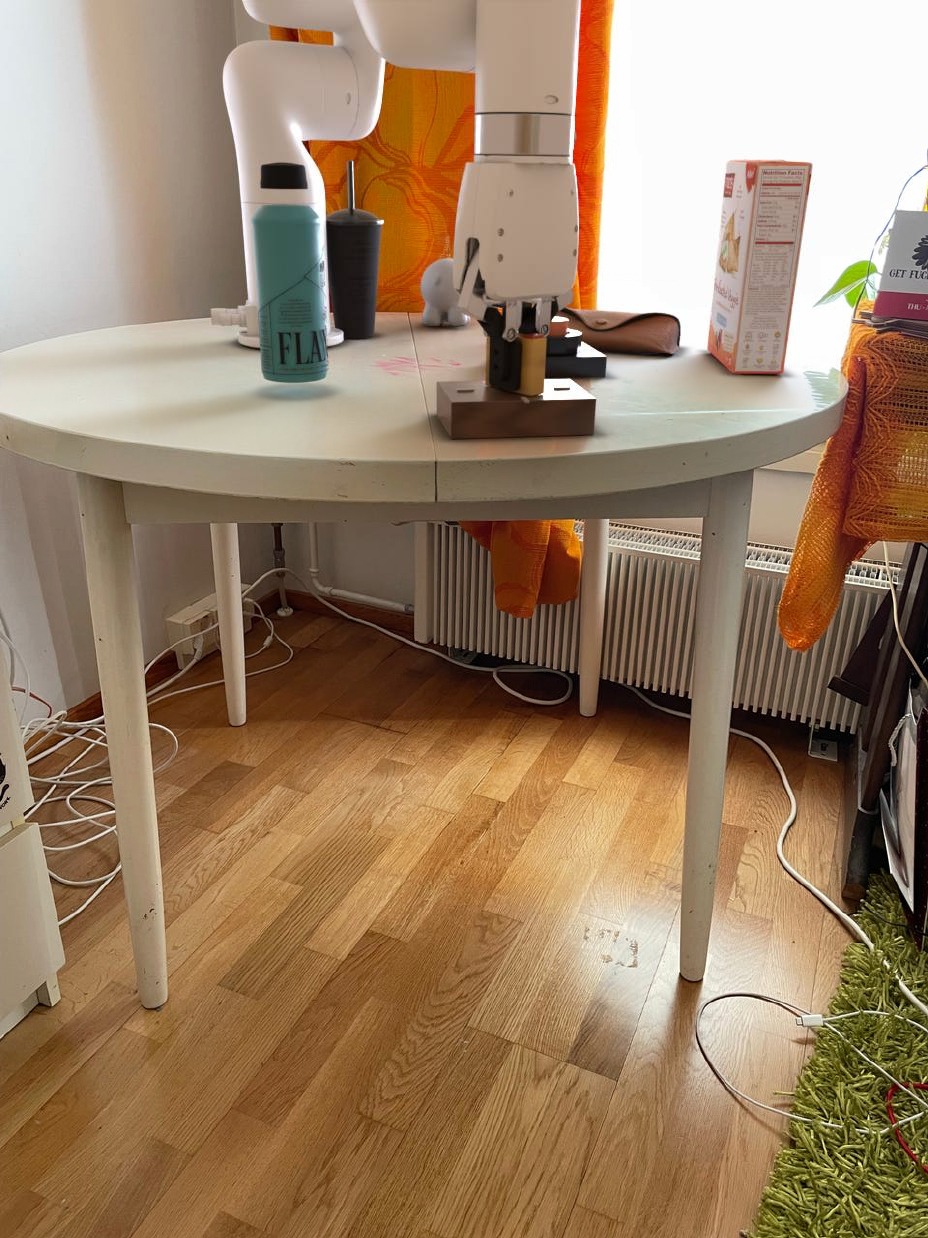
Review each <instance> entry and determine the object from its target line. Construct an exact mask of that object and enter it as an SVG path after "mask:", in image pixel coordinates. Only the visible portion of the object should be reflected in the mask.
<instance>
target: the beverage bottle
mask: <svg viewBox="0 0 928 1238" xmlns="http://www.w3.org/2000/svg"><path fill="white" fill-rule="evenodd" d="M260 187H261V189H308V183H307V179H306V170H305V166H304V165H299V164H294V163H286V162H278V163H270V164H264V165H261V181H260ZM251 224H252V230H253V244H254V257H255V271H256V284H257V297H258V324H259V338H260V348H259V350H260V352H259V353H260V366H261V373H262V377H263V379H264V380H266V381H269V382H275V383H282V384H283V383H285V384H301V383H310V382H318V381H321V380H323V379H326V377H327V375H328V370H329V369H330V366H329V364H330V363H329V360H328V359H329V352H328V351H329V350H328V348H329V346H327V344H326V336H327V328H326V325H325V319H326V318H327V316H326V314H325V313H326V312H325V308H326V307H325V308H324V295H325V294H324V286H325V285H323V284H325V282H324V278H325V273H324V278H323V270H325V269H324V262H323V261H322V255H323V253H322V250H324V248H323V249H322V244H321V228H320V225H321V218H320V217H319V215H318V214H317V213H316V212H315V211H314V210H313V209H312V208H311V207H310V206H307V205H287V204H277V205H262V206H261V207H260V208H259V209H258V210H257V211H256V212H255V214H254V215H253V216H252V218H251ZM323 282H324V283H323ZM325 299H326V298H325ZM325 316H326V318H325ZM327 338H328V337H327ZM327 340H328V339H327ZM327 343H328V341H327Z"/></svg>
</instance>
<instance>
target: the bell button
mask: <svg viewBox="0 0 928 1238" xmlns="http://www.w3.org/2000/svg"><path fill="white" fill-rule="evenodd" d="M567 332H568V319H566V318H562V317H554V318H553V320H552V321H551V323H550V331H549V334H548V335H549V336H554V335H567Z"/></svg>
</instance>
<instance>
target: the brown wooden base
mask: <svg viewBox="0 0 928 1238" xmlns="http://www.w3.org/2000/svg"><path fill="white" fill-rule="evenodd" d="M485 382H486V380H456V381H455V380H453V381H449V380H447V381H437V382H436V417H437V418H438V421H439V422H440V423H441V425H442V427H443V428H444V430H445V432H446V433H447V436H449V438H450V439H451V440H467V439H468V440H469V439H494V438H495V439H498V438H501V439H502V438H526V437H527V438H533V437H563V436H566V437H568V436H569V437H570V436H594V435H595V426H596V425H595V423H596V410H597V398H596V397H594V395H592V394H590V393H589V392H588V391H586V390H585V389H584V388H583V387H581V386H580V385H579V384H577V382H575V381H573V379H572V378H552V379H545V380H544V393H543V394H538V395H533V396H529V395H525V394H521V393H516V392H512V391H508V390H504V389H500V388H496V387H492V386H488V385H486V384H485Z"/></svg>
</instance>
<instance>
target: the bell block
mask: <svg viewBox="0 0 928 1238" xmlns="http://www.w3.org/2000/svg"><path fill="white" fill-rule="evenodd" d="M544 338H546V339H547V340H546V360H545V379H593V378H595V379H596V378H597V379H598V378H606V377H607V376H606V375H607V361H608V356H606V355H605V354H603V352H598V351H597V350H595V349H594V348H592V347H590V346H589V345H587V344H585V343H584V342H582V333H581V332H579V331H577V330H571V329H568V332H567V335H554V336H549V335H547V336H546V337H544Z"/></svg>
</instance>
